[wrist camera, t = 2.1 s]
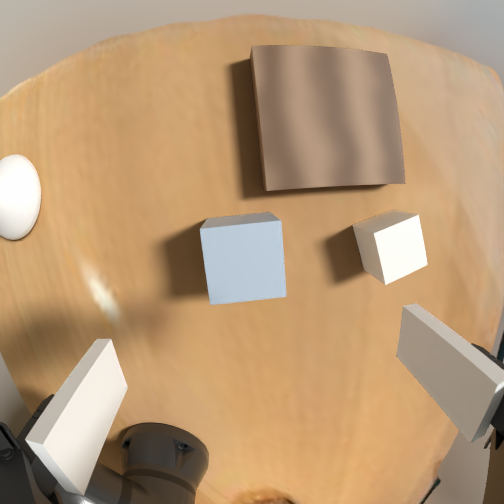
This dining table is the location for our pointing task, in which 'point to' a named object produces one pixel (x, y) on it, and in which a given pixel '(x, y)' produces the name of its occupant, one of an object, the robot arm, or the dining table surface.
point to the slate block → (243, 258)
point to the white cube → (391, 245)
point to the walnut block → (325, 117)
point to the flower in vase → (18, 196)
